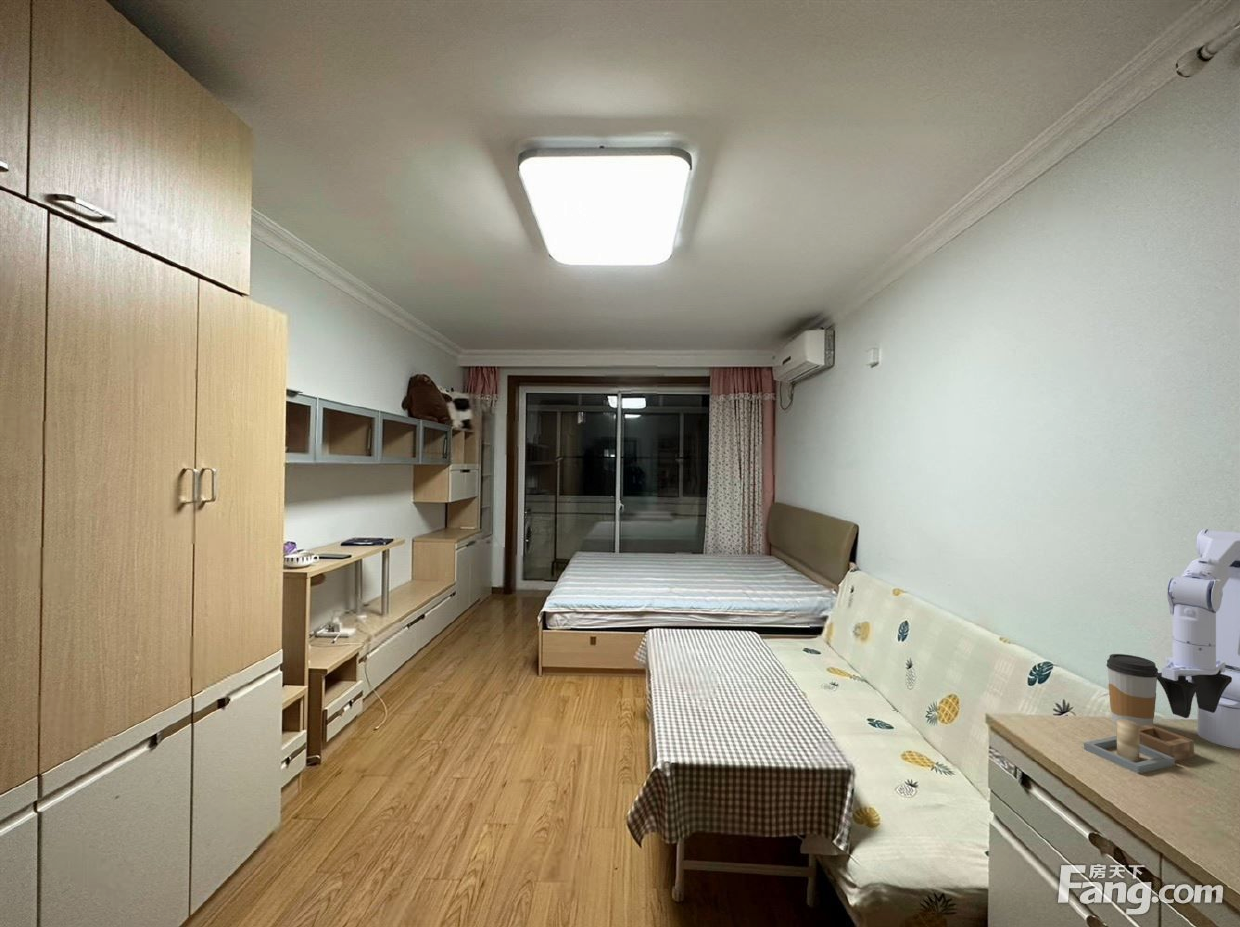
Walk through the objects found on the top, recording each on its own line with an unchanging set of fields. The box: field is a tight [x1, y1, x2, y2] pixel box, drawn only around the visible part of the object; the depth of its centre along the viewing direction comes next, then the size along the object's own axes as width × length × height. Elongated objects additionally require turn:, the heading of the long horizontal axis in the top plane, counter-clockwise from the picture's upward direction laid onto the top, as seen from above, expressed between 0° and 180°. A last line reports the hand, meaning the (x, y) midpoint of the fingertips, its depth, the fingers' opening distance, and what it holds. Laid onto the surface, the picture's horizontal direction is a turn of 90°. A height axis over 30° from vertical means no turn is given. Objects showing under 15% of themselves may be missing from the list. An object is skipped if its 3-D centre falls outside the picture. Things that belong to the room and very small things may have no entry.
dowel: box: [1116, 719, 1140, 763], centre depth 106 cm, size 3×3×7 cm
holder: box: [1139, 724, 1195, 762], centre depth 109 cm, size 7×7×4 cm
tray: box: [1083, 735, 1176, 775], centre depth 106 cm, size 10×9×2 cm
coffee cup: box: [1105, 653, 1159, 726], centre depth 119 cm, size 8×8×15 cm
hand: (1193, 713), depth 104 cm, fingers open, 7 cm apart
